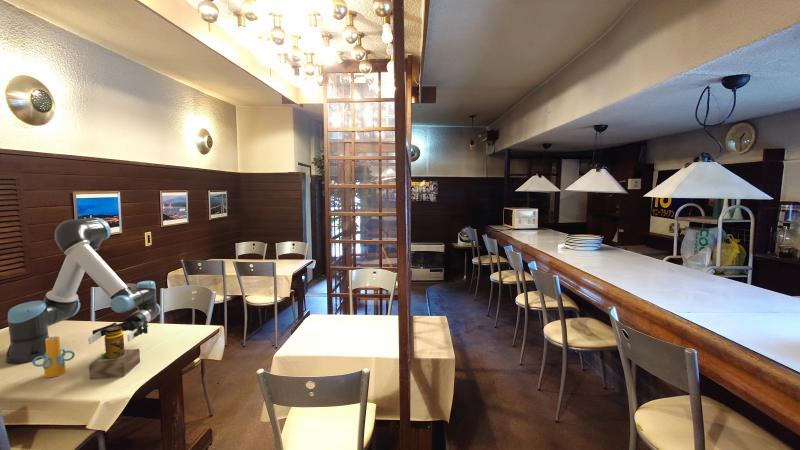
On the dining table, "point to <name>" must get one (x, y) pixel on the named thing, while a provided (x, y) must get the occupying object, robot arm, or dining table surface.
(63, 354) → the cylinder
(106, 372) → the riser
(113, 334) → the condiment
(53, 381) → the dining table surface
